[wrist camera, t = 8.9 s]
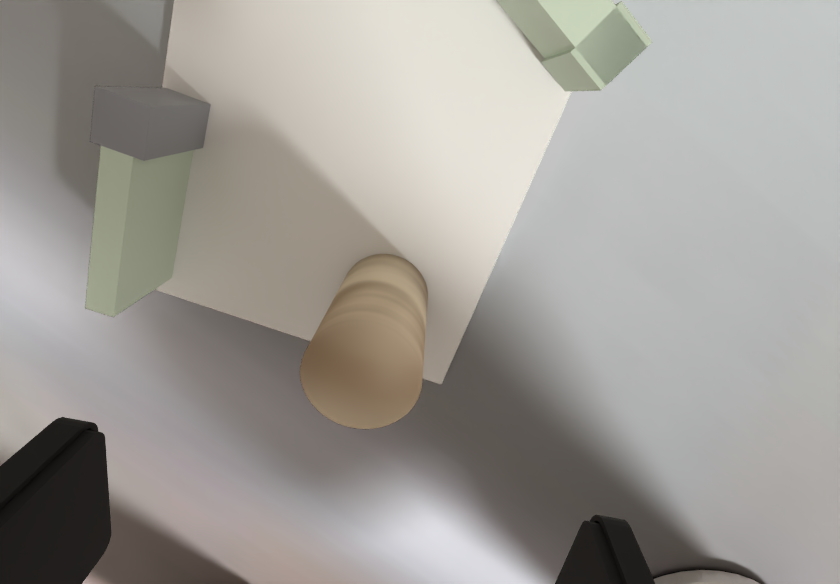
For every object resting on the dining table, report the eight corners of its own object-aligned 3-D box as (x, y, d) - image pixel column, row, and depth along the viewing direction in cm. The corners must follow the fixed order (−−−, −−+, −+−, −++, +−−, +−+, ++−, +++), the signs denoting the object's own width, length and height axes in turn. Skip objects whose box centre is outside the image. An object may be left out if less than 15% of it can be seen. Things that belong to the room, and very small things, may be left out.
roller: (412, 344, 26) (400, 443, 18) (332, 318, 25) (287, 408, 18) (440, 270, 24) (439, 346, 17) (355, 241, 24) (317, 306, 16)
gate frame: (441, 378, 27) (441, 442, 22) (141, 279, 26) (68, 323, 21) (708, -226, 17) (816, -356, 12) (246, -448, 16) (155, -700, 11)
